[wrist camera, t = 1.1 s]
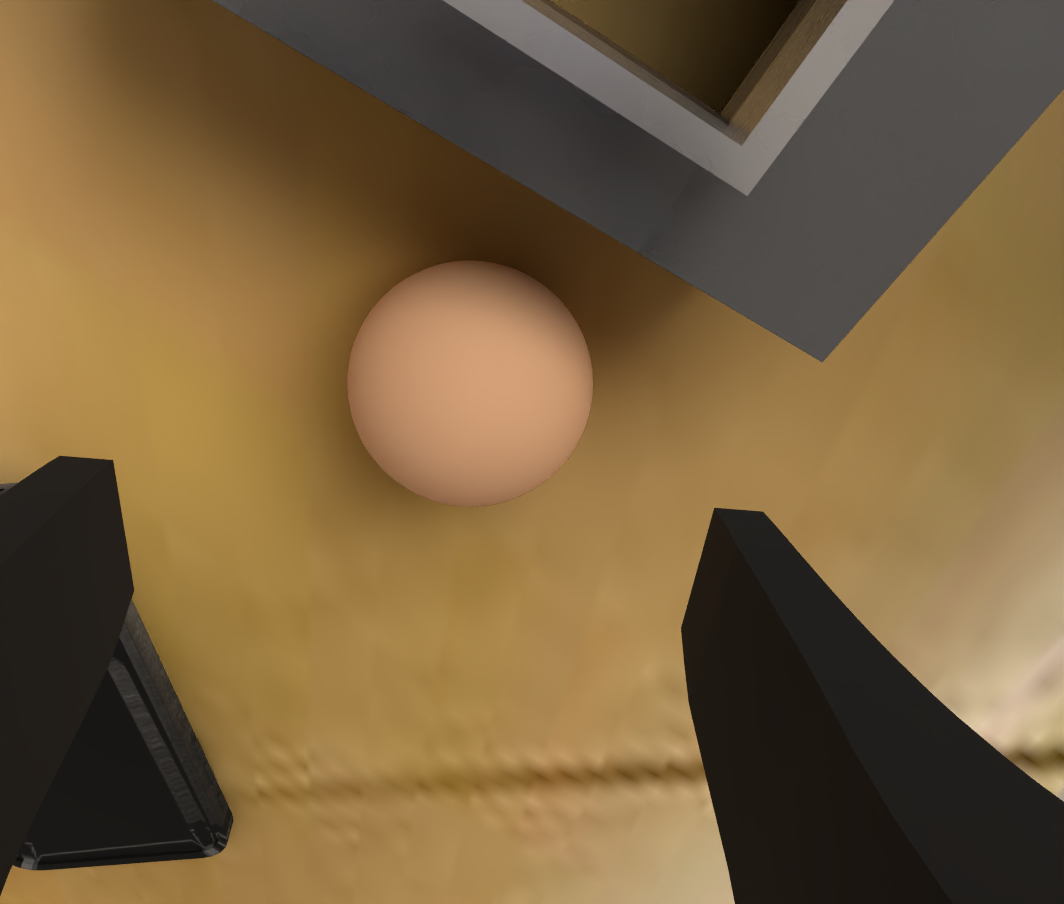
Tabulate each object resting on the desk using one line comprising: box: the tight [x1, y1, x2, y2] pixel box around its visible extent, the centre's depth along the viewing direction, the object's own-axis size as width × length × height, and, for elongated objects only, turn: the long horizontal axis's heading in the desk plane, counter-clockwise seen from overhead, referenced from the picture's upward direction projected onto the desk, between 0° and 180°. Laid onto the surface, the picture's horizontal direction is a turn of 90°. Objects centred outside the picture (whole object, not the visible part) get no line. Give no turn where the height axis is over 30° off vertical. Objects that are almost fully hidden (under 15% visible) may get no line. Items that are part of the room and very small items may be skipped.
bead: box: [347, 260, 593, 507], centre depth 20 cm, size 5×5×5 cm
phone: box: [0, 483, 233, 870], centre depth 28 cm, size 8×1×15 cm
